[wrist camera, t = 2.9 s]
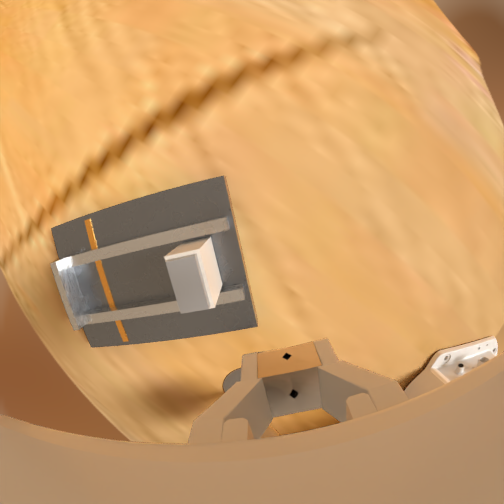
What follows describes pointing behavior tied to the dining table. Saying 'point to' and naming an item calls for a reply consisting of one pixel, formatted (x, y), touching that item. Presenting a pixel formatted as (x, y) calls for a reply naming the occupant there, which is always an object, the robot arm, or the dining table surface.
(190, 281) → the fader tab
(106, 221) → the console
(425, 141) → the dining table surface
